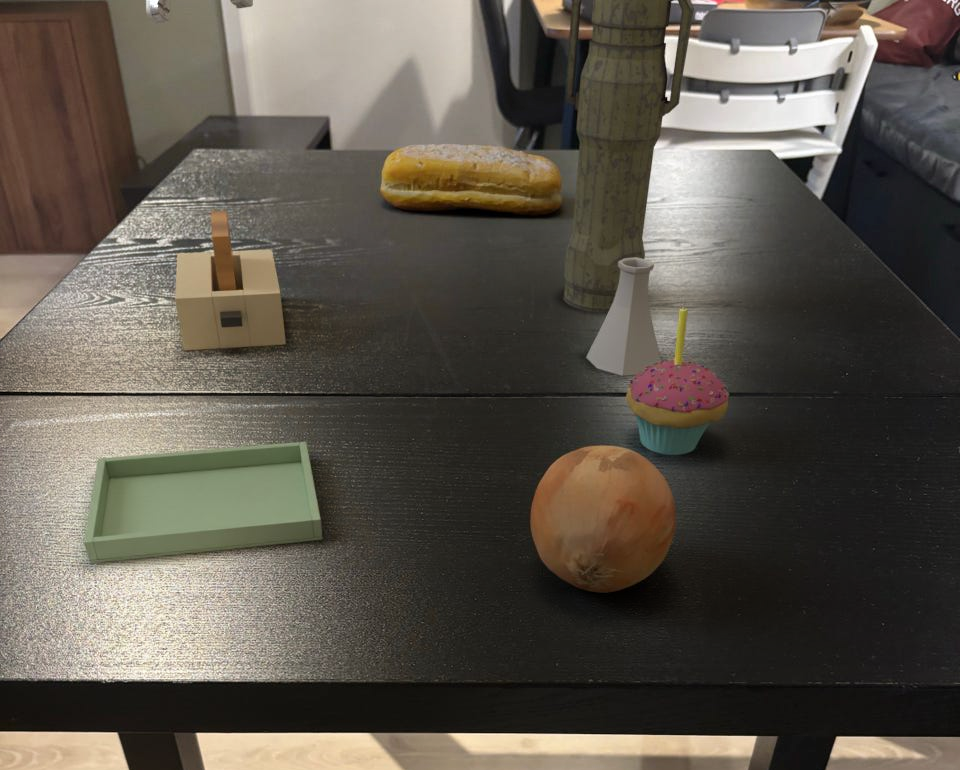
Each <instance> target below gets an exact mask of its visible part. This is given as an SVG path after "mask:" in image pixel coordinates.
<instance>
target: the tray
mask: <svg viewBox="0 0 960 770" xmlns="http://www.w3.org/2000/svg"><path fill="white" fill-rule="evenodd" d="M323 539H324V538H323V528H322V518H321V513H320V508H319V503H318V497H317V493H316V486H315V481H314V477H313V471H312V464H311V459H310V454H309V449H308V444H307V441H296V442H282V443H281V442H280V443H271V444H269V443H268V444H260V445H258V444H257V445H249V446H248V445H245V446H235V447H234V446H233V447H222V448H210V449H198V450H197V449H196V450H185V451H172V452H162V453H149V454H137V455H136V454H135V455H126V456H125V455H123V456H112V457H101V458H98V459H97V464H96V470H95V476H94V481H93V486H92V493H91V498H90V505H89V510H88V516H87V522H86V528H85V535H84V540H83V546H84V549H85V552H86V555H87V560H88V563H89V564H96V563H106V562H114V561H115V562H116V561H117V562H118V561H126V560H135V559H145V558H154V557H164V556H174V555H184V554H194V553H195V554H196V553H203V552H205V553H206V552H215V551H225V550H233V549H243V548H253V547H263V546H273V545H281V544H282V545H283V544H291V543H292V544H293V543H302V542H312V541H322V540H323Z"/></svg>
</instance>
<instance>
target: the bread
mask: <svg viewBox="0 0 960 770" xmlns="http://www.w3.org/2000/svg"><path fill="white" fill-rule="evenodd" d="M562 184H563V180H562V175H561V171H560V169H559V168H558V166H557V165H556V164H555V163H554V162H553V161H552V160H550V159H548V158H547V157H545V156H542V155H537V154H536V155H535V154H530V153H526V152H524V151H522V150H519V151H518V150H514V149H510V148H508V147H507V148H505V147H504V146H499V145H496V146H493V145H487V144H486V145H478V144H465V145H464V144H458V143H453V144H452V143H451V144H450V143H441V144H438V143H429V144H409V145H407V146H403V147H400V148H397V149H395V150H394V151H392V152H391V153H390V154H389V155H388V156H387V157H386V159H385V161H384V164H383V167H382V170H381V183H380V188H379V190H380V192H379V193H380V194H381V196H382V198H383V199H384V200H385V201H386V202H387V203H388V204H390V205H391V206H392V207H394V208H397V209H399V210H404V211H409V212H443V211H456V210H460V209H464V210H465V209H469V210H470V209H476V210H482V211H489V212H499V213H507V214H514V216H516V215H518V216H519V215H521V216H544V215H549V214H553V213H555V212H556V211H557V210H558V209H559V208H560V207H561V205H562V202H563V197H562V193H561V192H562Z"/></svg>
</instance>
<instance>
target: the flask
mask: <svg viewBox="0 0 960 770" xmlns="http://www.w3.org/2000/svg"><path fill="white" fill-rule="evenodd" d="M618 267H619V268H620V279H619V285H618V288H617V291H616V295H615V298H614V301H613V303H612V306H611V308H610V310H609V312H608V313H606V317H605V319H604V320H603V323H602V325H601V327H600V329H599V331H598V332H597V334H596V337H595V339H594V341H593V343H592V344H591V346H590V349H589V350H588V352H587V355H586V356H585V358H586V359H587V360H588V361H589V362H590V363H591V364H592V365H593V366H594V367H595V368H596V369H597V370H602V371H605V372H607V373H611V374H615V375H618V376H622V377H624V376H632V375H633V376H634V375H637V374H638V373H639V372H640V371H642V370H643V369H645V367H647V366H652V365H653V364H654V363H655V364H656V363H658V364H659V363H661V361H662V358H661V354H660V350H659V344H658V341H657V338H656V337H657V336H656V333H655V328H654V322H653V318H652V313H651V308H650V300H649V297H650V296H649V280H650V273H651V271H653V270H654V268H655V264H654V263H653V262H652V261H650V260H649V259H641V258H637V257H635V258H624V259H622V260H620V261H618Z"/></svg>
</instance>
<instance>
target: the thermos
mask: <svg viewBox="0 0 960 770" xmlns="http://www.w3.org/2000/svg"><path fill="white" fill-rule="evenodd" d="M674 1H675V0H592V10H591V22H590V23H591V24H592V34H591V39H590V40H589V47H588V54H587V56H586V59H585V63H584V65H583V68H582V71H581V73H580V82H579V90H577V91H576V93H575V86H576V73H577V59H578V48H579V47H578V45H579V35H580V33H579V32H580V21H581V10H582V9H581V8H582V0H571V10H570V11H571V12H570V23H569V37H568V39H569V40H568V50H567V51H568V53H567V66H566V78H565V79H566V80H565V81H566V82H565V83H566V84H565V103H566V104H570V105H574V110H576V111H577V117H576V118H577V119H576V135H577V137H578V141H579V149H578V161H577V171H576V183H575V195H574V206H573V207H574V208H573V220H572V231H571V237H570V240H569V242H568V245H567V247H566V249H565V256H564V268H563V269H564V270H563V271H564V272H563V279H564V292H563V298H562V299H563V300H564V303H566V304H567V305H569V306H571V307H573V308H575V309H578V310H581V311H584V312H590V313H601V314H608V312H609V310H610V308H611V306H612V303H613V301H614V298H615V295H616V291H617V288H618V285H619V279H620V268H619V267H618V261H620V260H622V259H624V258H635V257H637V258H641V259H645V257H646V251H645V246H644V239H643V236H644V228H645V220H646V213H647V205H648V197H649V189H650V182H651V181H650V180H651V174H652V168H653V167H652V166H653V158H654V151H655V147H656V144H657V142H658V141H659V139H660V137H661V132H662V124H663V117H664V116H666V115H668V114H670V113H671V112H672V111H673V110H674V109H675V108H676V107H677V106H678V105H679V104H680V100H681V92H682V82H683V77H684V70H685V65H686V59H687V54H688V48H689V40H690V35H691V30H692V22H693V18H694V11H695V8H694V5H693V2H692V0H677V2H678V4H679V7H680V9H681V15H680V22H679V28H678V29H679V30H678V38H677V45H676V52H675V58H674V67H673V73H672V80H671V89H670V96H669V100H668V96H667V95H666V94H667V88H668V87H667V86H668V79H669V77H668V70H667V64H666V57H665V56H666V49H667V43H666V42H665V41H666V40H665V39H666V32H667V27H669V23H670V15H671V9H672V2H674ZM574 93H575V94H574Z"/></svg>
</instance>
